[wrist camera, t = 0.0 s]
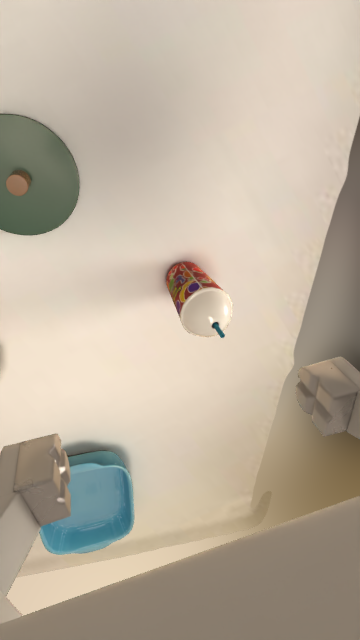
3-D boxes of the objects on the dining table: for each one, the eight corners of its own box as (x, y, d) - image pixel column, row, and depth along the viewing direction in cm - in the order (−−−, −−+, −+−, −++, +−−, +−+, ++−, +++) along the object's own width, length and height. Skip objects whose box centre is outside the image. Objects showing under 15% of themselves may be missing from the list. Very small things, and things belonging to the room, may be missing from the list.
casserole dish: (132, 516, 99) (136, 542, 93) (50, 537, 94) (49, 566, 88) (126, 429, 80) (130, 455, 74) (23, 449, 74) (19, 478, 69)
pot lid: (-52, 210, 48) (-63, 221, 44) (-33, 89, 42) (-44, 87, 38) (62, 246, 55) (62, 258, 50) (93, 146, 49) (95, 150, 44)
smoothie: (153, 266, 61) (185, 325, 44) (196, 247, 61) (243, 299, 45) (169, 303, 65) (203, 369, 49) (208, 285, 66) (255, 345, 49)
